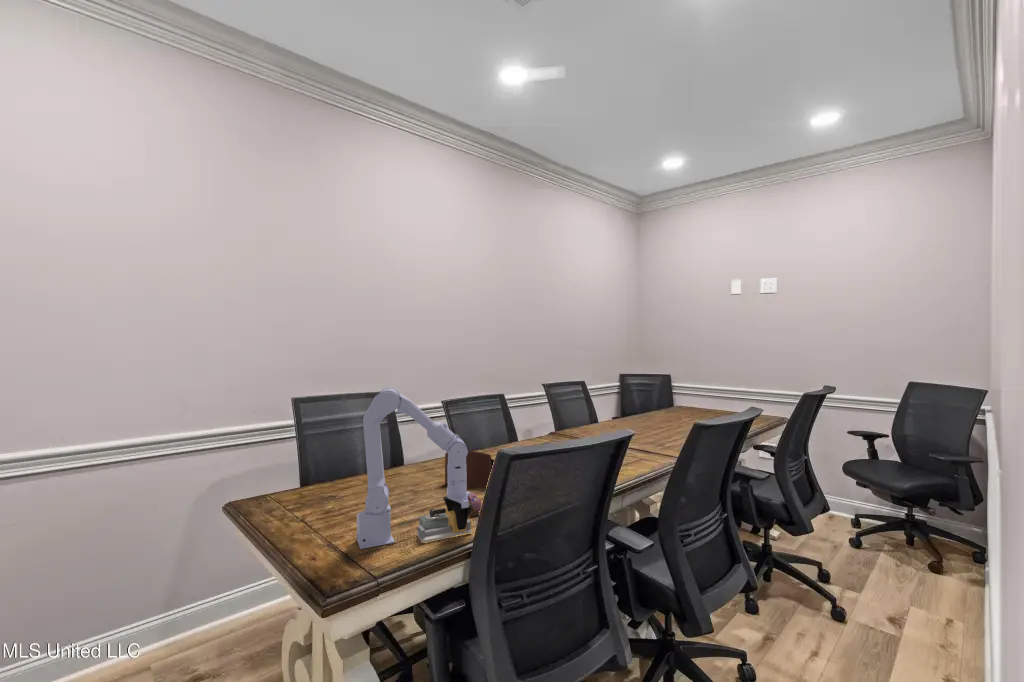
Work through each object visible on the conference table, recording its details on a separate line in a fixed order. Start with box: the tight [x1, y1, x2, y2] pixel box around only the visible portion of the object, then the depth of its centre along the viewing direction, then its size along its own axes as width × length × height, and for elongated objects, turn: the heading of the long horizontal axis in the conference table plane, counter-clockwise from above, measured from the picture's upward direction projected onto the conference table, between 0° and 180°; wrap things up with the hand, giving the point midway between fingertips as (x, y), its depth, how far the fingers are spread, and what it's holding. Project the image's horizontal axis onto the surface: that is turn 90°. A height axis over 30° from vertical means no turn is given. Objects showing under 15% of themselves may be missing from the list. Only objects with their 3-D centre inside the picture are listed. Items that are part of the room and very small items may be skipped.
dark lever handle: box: [429, 507, 447, 516], centre depth 147 cm, size 5×2×2 cm, turn 116°
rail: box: [416, 518, 473, 542], centre depth 140 cm, size 15×6×3 cm, turn 116°
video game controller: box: [467, 492, 483, 513], centre depth 160 cm, size 10×5×7 cm, turn 21°
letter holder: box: [444, 450, 495, 489], centre depth 192 cm, size 10×20×14 cm, turn 74°
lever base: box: [418, 513, 449, 530], centre depth 146 cm, size 8×5×3 cm, turn 116°
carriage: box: [447, 510, 467, 533], centre depth 141 cm, size 4×5×5 cm
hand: (457, 524), depth 141 cm, fingers open, 7 cm apart
